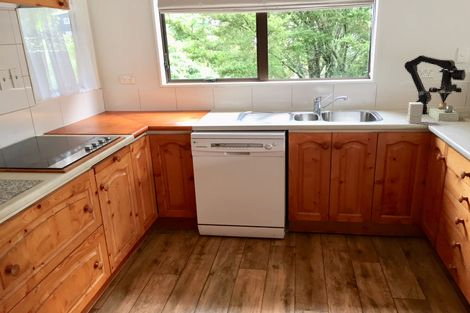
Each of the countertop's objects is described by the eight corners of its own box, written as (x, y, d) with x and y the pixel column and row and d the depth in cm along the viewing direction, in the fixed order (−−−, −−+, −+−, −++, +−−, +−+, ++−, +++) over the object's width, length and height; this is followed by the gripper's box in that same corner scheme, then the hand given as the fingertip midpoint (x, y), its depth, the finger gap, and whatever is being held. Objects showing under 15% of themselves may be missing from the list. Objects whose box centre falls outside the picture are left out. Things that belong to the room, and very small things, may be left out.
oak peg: (440, 110, 249) (441, 103, 248) (438, 109, 253) (439, 102, 252) (446, 110, 248) (447, 103, 247) (444, 109, 252) (445, 102, 251)
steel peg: (446, 113, 238) (447, 106, 237) (444, 112, 242) (445, 105, 240) (452, 113, 237) (454, 106, 236) (450, 112, 241) (451, 105, 240)
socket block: (438, 120, 238) (439, 113, 237) (428, 114, 257) (429, 107, 256) (458, 120, 236) (459, 113, 235) (447, 114, 255) (448, 107, 253)
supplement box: (418, 121, 239) (421, 102, 235) (421, 123, 232) (423, 104, 229) (406, 121, 241) (408, 102, 237) (408, 123, 234) (410, 103, 231)
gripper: (435, 81, 239) (432, 104, 244) (466, 80, 235) (462, 104, 240) (429, 79, 249) (427, 101, 254) (459, 78, 246) (456, 101, 250)
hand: (443, 102), depth 249 cm, fingers closed
